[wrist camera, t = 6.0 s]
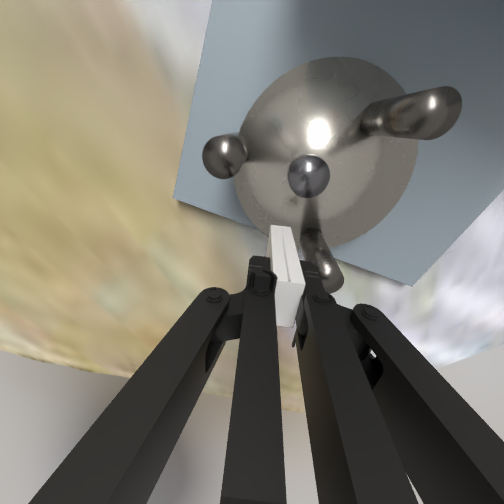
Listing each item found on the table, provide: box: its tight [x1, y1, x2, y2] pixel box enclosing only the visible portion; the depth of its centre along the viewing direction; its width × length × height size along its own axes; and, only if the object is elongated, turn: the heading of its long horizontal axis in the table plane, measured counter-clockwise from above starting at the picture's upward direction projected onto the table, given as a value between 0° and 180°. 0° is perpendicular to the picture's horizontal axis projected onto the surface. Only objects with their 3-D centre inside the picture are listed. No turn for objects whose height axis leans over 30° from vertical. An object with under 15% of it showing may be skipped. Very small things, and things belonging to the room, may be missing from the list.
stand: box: [173, 0, 504, 286], centre depth 12 cm, size 24×20×11 cm
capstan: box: [202, 57, 462, 294], centre depth 14 cm, size 12×12×8 cm
